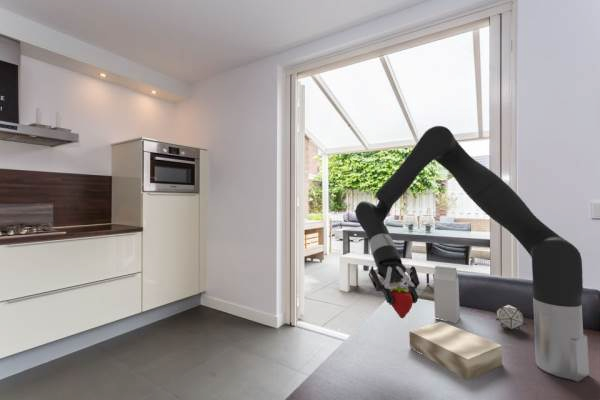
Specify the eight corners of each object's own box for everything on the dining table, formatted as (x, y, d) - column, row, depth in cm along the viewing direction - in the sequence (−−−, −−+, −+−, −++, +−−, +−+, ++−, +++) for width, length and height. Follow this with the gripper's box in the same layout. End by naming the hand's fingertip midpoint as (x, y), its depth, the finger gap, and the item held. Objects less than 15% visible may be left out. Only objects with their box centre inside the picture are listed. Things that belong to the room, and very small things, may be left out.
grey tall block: (456, 323, 101) (454, 269, 101) (434, 319, 105) (433, 267, 106) (459, 317, 107) (457, 266, 107) (439, 313, 111) (437, 264, 111)
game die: (518, 341, 95) (539, 323, 90) (493, 332, 95) (513, 314, 90) (506, 318, 102) (525, 301, 97) (483, 310, 103) (501, 292, 97)
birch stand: (502, 364, 75) (501, 345, 75) (468, 380, 69) (467, 359, 69) (441, 337, 91) (441, 321, 91) (409, 347, 85) (409, 331, 85)
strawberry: (397, 324, 74) (396, 286, 75) (385, 314, 82) (383, 279, 82) (419, 322, 75) (417, 284, 75) (404, 312, 83) (403, 277, 83)
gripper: (364, 245, 86) (381, 298, 74) (410, 243, 87) (434, 294, 75) (359, 260, 91) (374, 311, 79) (402, 257, 92) (424, 307, 80)
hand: (403, 302), depth 77 cm, fingers closed on strawberry, 6 cm apart
